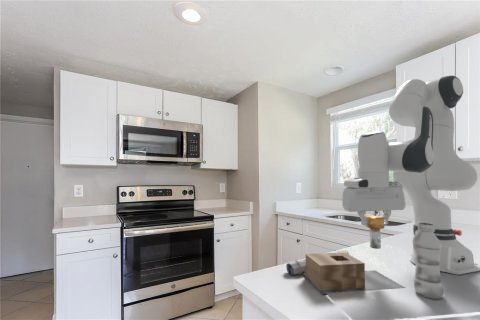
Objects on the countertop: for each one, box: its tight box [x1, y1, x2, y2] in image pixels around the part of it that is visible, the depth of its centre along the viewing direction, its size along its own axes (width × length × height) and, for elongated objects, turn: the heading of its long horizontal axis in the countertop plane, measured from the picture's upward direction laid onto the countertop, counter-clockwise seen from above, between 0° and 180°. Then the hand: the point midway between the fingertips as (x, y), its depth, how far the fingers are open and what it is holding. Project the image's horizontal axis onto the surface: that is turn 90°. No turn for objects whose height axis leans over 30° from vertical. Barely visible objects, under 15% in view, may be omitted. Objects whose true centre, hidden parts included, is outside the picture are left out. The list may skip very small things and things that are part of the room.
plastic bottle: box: [411, 223, 444, 301], centre depth 69 cm, size 6×7×20 cm
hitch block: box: [303, 252, 406, 296], centre depth 77 cm, size 26×13×8 cm, turn 99°
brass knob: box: [364, 215, 386, 250], centre depth 79 cm, size 5×5×10 cm
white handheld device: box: [286, 249, 350, 276], centre depth 87 cm, size 5×7×25 cm
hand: (374, 224), depth 80 cm, fingers closed on brass knob, 5 cm apart
